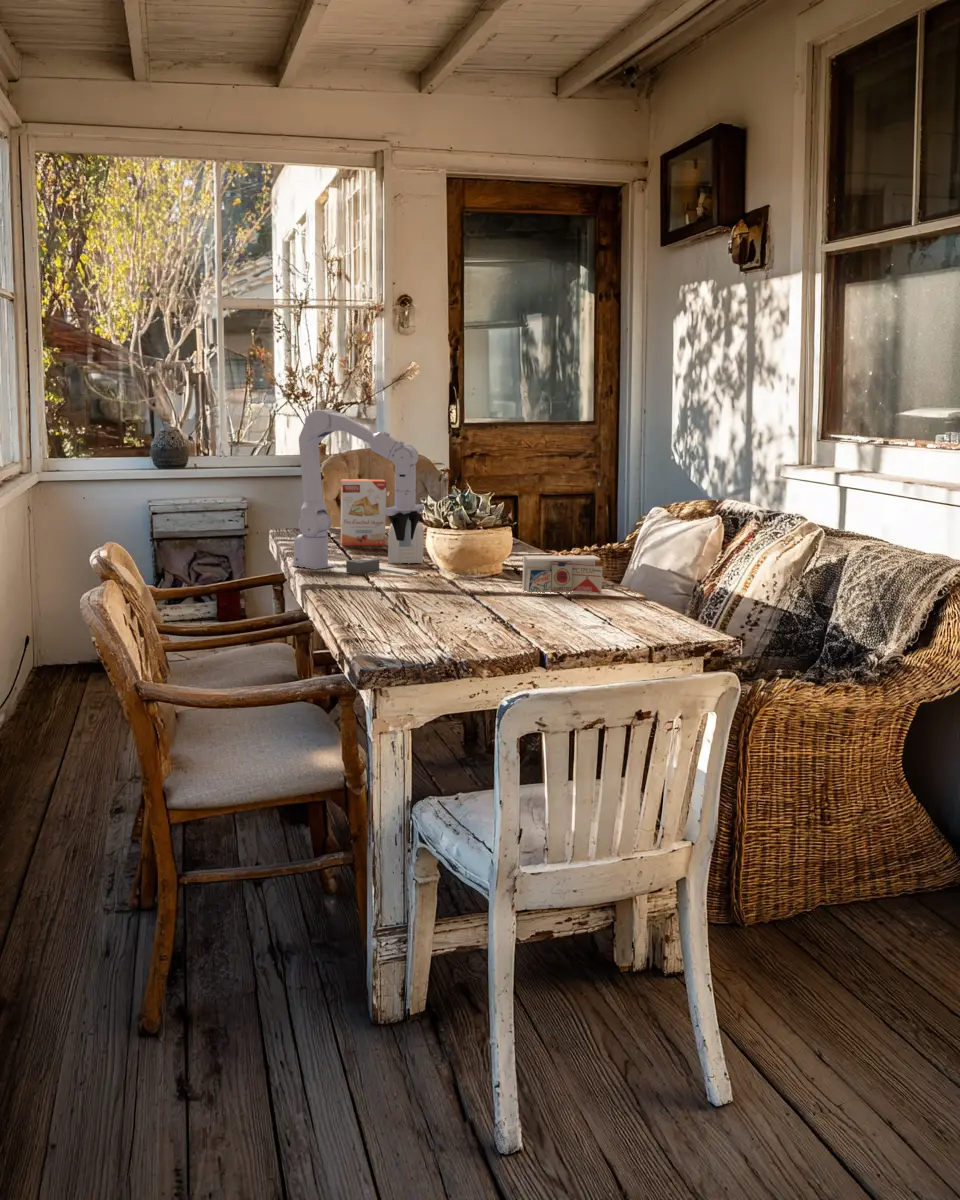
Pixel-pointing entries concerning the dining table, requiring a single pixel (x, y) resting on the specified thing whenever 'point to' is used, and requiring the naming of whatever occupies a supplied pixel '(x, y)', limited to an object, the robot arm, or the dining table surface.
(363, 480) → the cracker box
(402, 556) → the light grey rounded block
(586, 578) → the cigarette display
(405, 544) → the peg
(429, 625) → the dining table surface
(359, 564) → the box
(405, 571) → the batten
